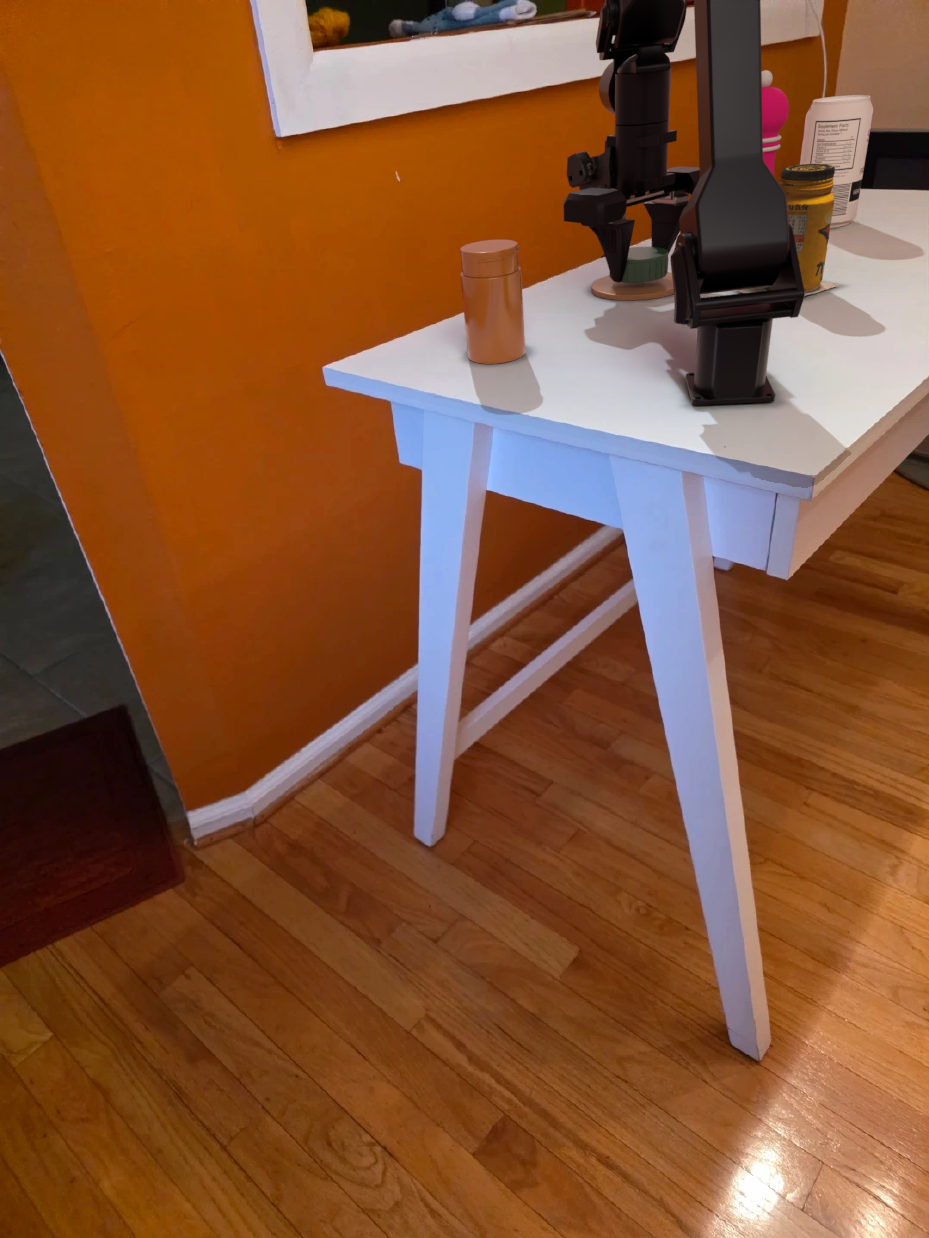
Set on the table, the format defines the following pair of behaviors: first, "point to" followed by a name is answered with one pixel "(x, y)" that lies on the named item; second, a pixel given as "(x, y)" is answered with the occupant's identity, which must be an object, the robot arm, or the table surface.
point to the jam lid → (645, 264)
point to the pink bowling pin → (772, 118)
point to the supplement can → (839, 147)
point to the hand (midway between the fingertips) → (637, 275)
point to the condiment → (809, 220)
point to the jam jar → (492, 301)
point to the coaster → (633, 289)
